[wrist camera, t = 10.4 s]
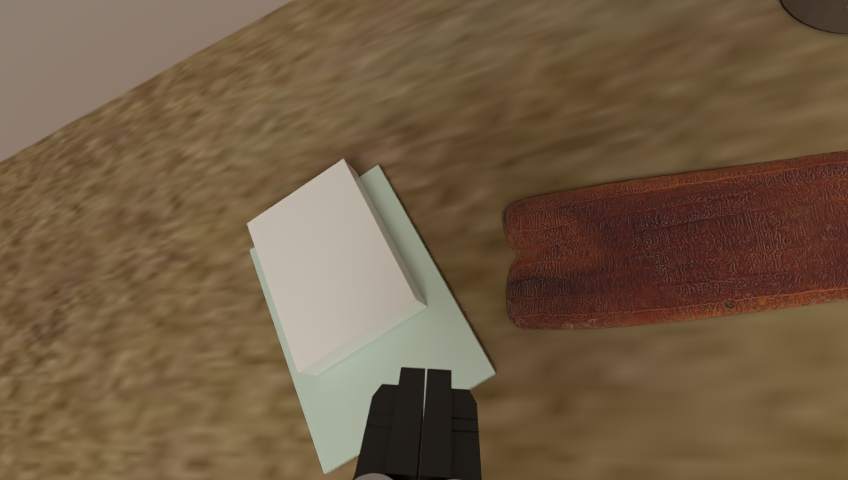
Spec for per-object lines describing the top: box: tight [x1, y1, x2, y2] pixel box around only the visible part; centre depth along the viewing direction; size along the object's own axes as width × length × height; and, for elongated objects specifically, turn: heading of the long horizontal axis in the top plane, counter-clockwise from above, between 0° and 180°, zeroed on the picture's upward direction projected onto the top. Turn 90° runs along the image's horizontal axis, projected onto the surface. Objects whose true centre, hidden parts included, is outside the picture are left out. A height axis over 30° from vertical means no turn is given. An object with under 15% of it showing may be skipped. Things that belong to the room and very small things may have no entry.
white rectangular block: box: [247, 159, 427, 376], centre depth 36 cm, size 3×10×14 cm
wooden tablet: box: [502, 151, 848, 330], centre depth 29 cm, size 27×10×2 cm, turn 92°
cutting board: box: [250, 165, 497, 474], centre depth 36 cm, size 20×14×1 cm
